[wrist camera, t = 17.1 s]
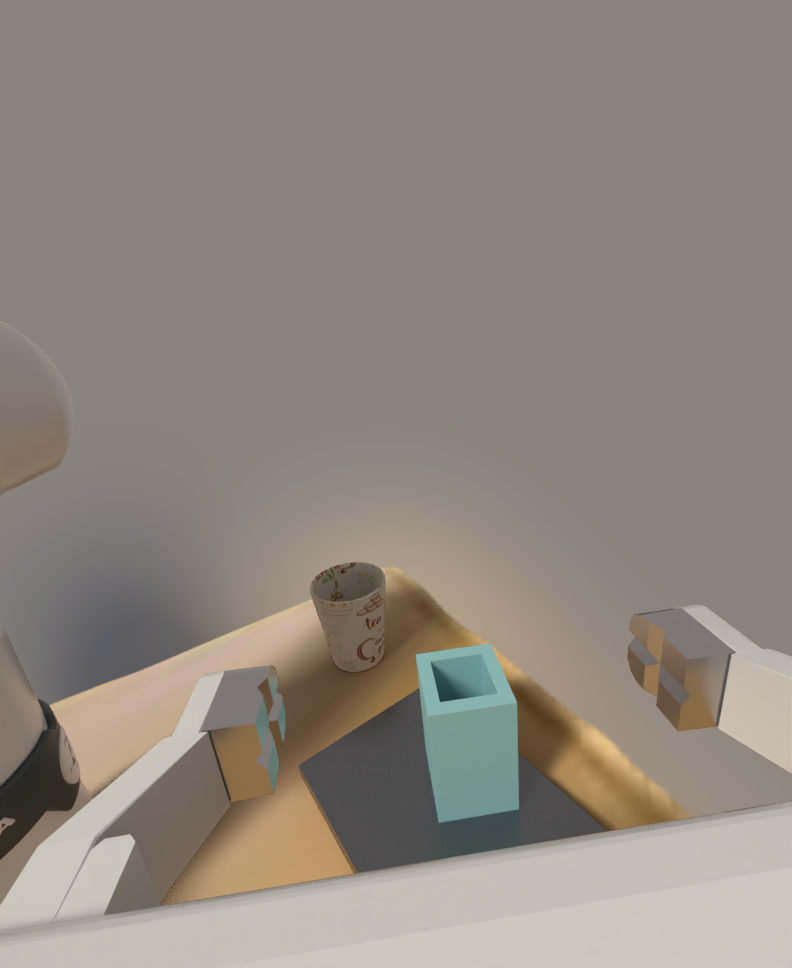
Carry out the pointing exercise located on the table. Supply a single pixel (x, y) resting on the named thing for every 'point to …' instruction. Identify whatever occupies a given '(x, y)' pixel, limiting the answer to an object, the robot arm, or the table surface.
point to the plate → (421, 799)
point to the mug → (352, 613)
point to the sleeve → (469, 732)
